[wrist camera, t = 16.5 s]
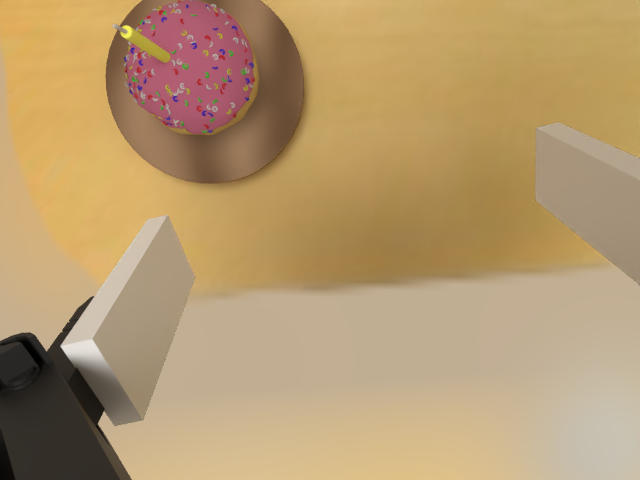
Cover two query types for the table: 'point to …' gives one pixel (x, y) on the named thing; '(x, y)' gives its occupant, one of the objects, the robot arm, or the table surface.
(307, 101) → the table surface
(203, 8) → the cupcake
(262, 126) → the brown plate
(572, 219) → the robot arm
